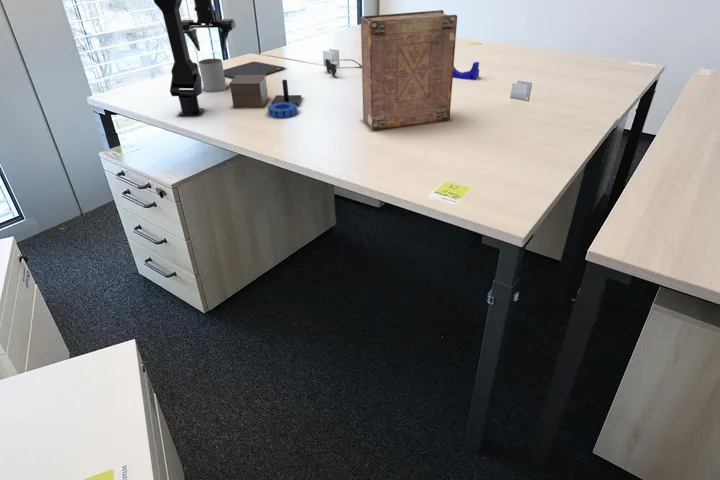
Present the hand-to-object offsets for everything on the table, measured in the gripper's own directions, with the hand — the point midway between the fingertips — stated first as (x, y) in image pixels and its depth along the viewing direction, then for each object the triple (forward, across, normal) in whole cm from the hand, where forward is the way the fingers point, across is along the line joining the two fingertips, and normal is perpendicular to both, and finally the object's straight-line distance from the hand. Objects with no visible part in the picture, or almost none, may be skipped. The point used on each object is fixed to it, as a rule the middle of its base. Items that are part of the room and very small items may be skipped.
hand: (211, 50), depth 173 cm
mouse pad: (+14, -6, -26) cm, 30 cm away
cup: (+14, +2, -2) cm, 15 cm away
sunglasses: (+14, -48, -22) cm, 55 cm away
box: (+14, -16, +16) cm, 27 cm away
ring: (+14, -29, +27) cm, 42 cm away
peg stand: (+14, -28, +16) cm, 36 cm away
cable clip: (+14, -93, -12) cm, 95 cm away
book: (+15, -69, +35) cm, 79 cm away
